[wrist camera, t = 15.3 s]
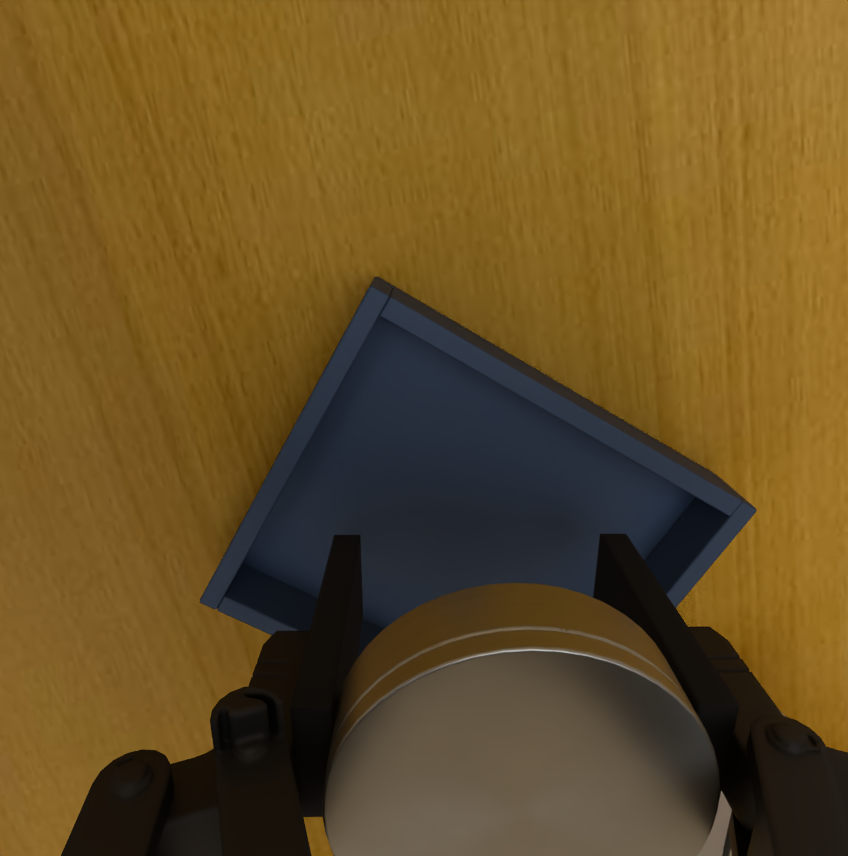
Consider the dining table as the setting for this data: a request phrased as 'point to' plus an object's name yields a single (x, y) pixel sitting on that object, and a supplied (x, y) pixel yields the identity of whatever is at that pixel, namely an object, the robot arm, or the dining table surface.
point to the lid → (517, 735)
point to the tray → (458, 481)
